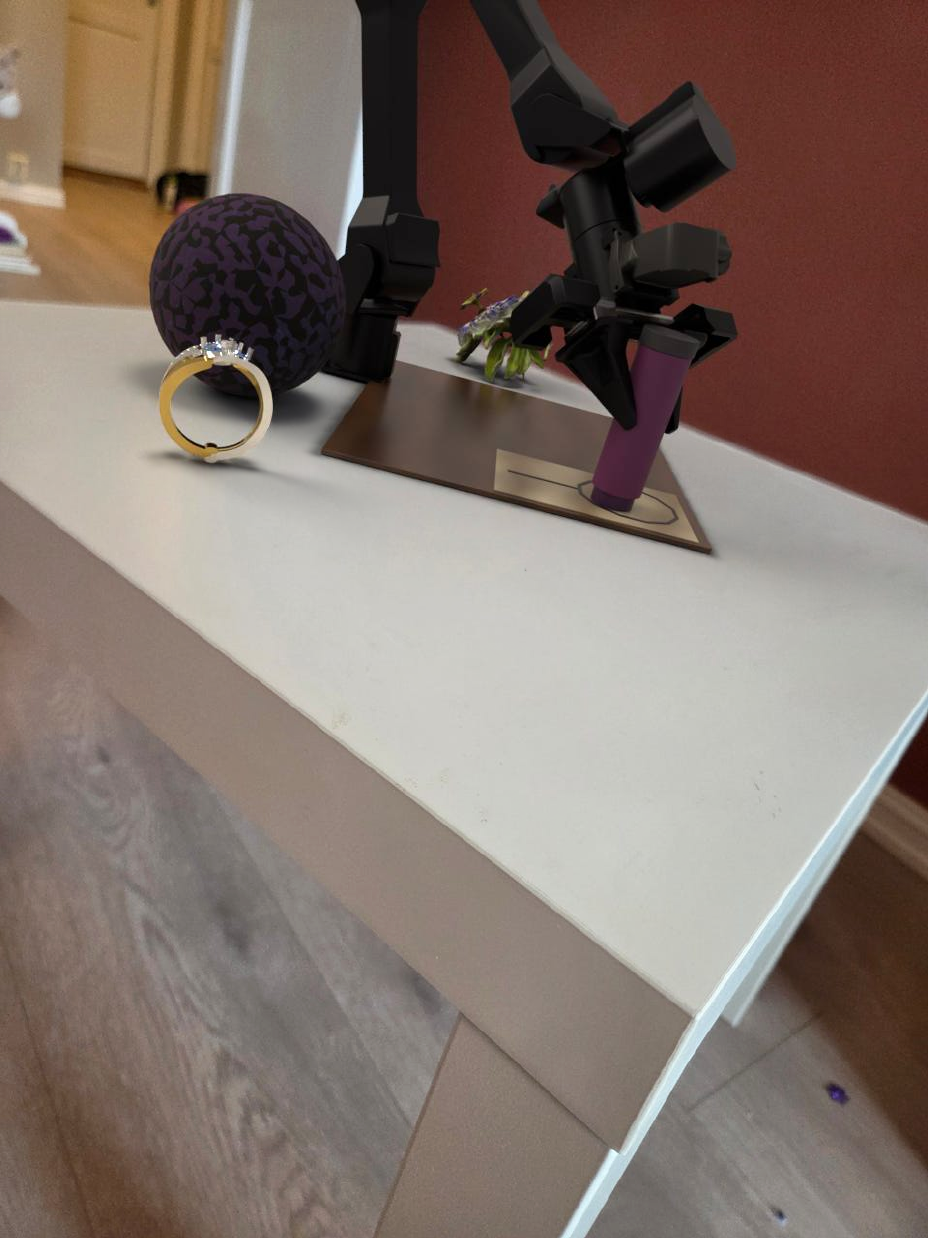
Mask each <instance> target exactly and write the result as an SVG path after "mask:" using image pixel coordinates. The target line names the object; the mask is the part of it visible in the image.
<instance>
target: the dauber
mask: <svg viewBox="0 0 928 1238" xmlns="http://www.w3.org/2000/svg"><path fill="white" fill-rule="evenodd" d="M639 342H640V343H639V346H638V347H637V348H636V352H635V354H634V357H633V360H632V363H631V366H630V368H629V372H630V377H631V382H632V388H633V393H634V398H635V404H636V413H637V425H636V426H635V427H634V428H632V429H631V430H624V429H623V428H622V427H621V426H620V425H619V423H618V422H617V421H616V420H615V419H614V418H613V417H612V418H613V421H612V424H611V426H610V429H609V432H608V435H607V438H606V441H605V444H604V447H603V450H602V452H601V455H600V458H599V461H598V464H597V467H596V470H595V473H594V476H593V478H592V483H593V485H594V487H593V490H592V493H591V499H592V500H593V501H594V502H596V503H597V504H599V505H601V506H603V507H606V508H608V509H611V510H615V511H620V512H628V511H631V509H632V507H633V504H634V502H635V499H638V498H640V497H641V494H642V491H643V489H644V486H645V483H646V481H647V478H648V475H649V473H650V470H651V467H652V465H653V462H654V460H655V457H656V454H657V452H658V449H660V446H661V443H662V440H663V438H664V435H665V430H666V428H667V425H668V422H669V420H670V417H671V414H672V412H673V409H674V406H675V404H676V401H677V398H678V396H679V393H680V391H681V388H682V385H683V386H684V384H683V383H685V380H686V377H687V374H688V372H689V370H688V369H689V367H690V364H691V361H692V359H694V357H695V355H696V352H697V349H698V347H699V344H700V341H698V340H697V339H695V338H693V337H691V336H689V335H686V334H683V333H681V332H678V331H675V330H672V329H668V328H665V327H661V326H656V325H651V324H645V325H644V327H643V330H642V333H641V336H640V339H639Z"/></svg>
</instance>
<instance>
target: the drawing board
mask: <svg viewBox="0 0 928 1238" xmlns="http://www.w3.org/2000/svg"><path fill="white" fill-rule="evenodd" d="M612 421H613V416H608V415H604V414H601V413H597V412H592V411H589V410H586V409H582V408H579V407H575V406H570V405H566V404H563V403H559V402H555V401H552V400H548V399H544V398H541V397H538V396H537V397H536V396H532V395H529V394H525V393H521V392H518V391H514V390H510V389H506V388H502V387H499V386H495V385H492V384H488V383H484V382H480V381H477V380H473V379H469V378H465V377H461V376H458V375H454V374H451V373H447V372H443V371H439V370H435V369H432V368H428V367H424V366H420V365H416V364H413V363H409V362H405V361H402V360H401V361H400V360H397V359H396V362H395V367H394V372H393V373H392V375H391V377H389V378H386V379H385V380H384V382H383V383H377V382H373V381H369V382H367V383H366V385H365V387H364V388H363V389H362V391H361V392H360V394H359V395H358V397H357V398H356V399H355V401H354V402H353V403H352V405H351V406H350V408H348V411H347V412H346V413H345V415H344V416H343V417H342V418H341V420H340V422H339V423H338V425H337V426H336V428H335V429H334V430H333V432H332V433H331V435H330V436H329V438H328V439H327V440H326V442H325V444H324V445H323V446H322V448H321V449H320V454H322V455H325V456H330V457H333V458H337V459H341V460H344V461H349V462H351V463H355V464H360V465H364V466H368V467H371V468H376V469H379V470H383V471H386V472H391V473H395V474H398V475H403V476H406V477H411V478H413V479H414V478H415V479H419V480H423V481H425V482H430V483H434V484H438V485H442V486H445V487H449V488H453V489H457V490H461V491H465V492H468V493H472V494H476V495H479V496H484V497H488V498H493V499H495V500H499V501H504V502H507V503H511V504H515V505H519V506H523V507H527V508H531V509H535V510H539V511H543V512H546V513H550V514H554V515H557V516H561V517H565V518H569V519H573V520H578V521H581V522H584V523H589V524H592V525H596V526H601V527H604V528H609V529H612V530H616V531H619V532H624V533H628V534H631V535H635V536H639V537H642V538H648V539H651V540H655V541H658V542H663V543H666V544H671V545H674V546H678V547H682V548H686V549H690V550H693V551H698V552H701V553H705V554H708V555H710V554H712V550H713V547H712V546H711V545H710V543H709V541H708V539H707V537H706V535H705V533H704V531H703V529H702V527H701V525H700V523H699V522H698V520H697V518H696V516H695V514H694V512H693V510H692V508H691V506H690V505H689V502H688V501H687V498H686V497H685V495H684V493H683V491H682V490H681V487H680V485H679V483H678V481H677V480H676V478H675V476H674V474H673V472H672V470H671V468H670V466H669V464H668V462H667V461H666V459H665V456H664V455H663V453H662V451H661V449H660V448H659V449H658V452H657V454H656V457H655V460H654V462H653V465H652V467H651V470H650V473H649V475H648V478H647V481H646V483H645V486H644V489H643V491H642V494H641V497H640V498H638V499H635V502H634V504H633V507H632V509H631V511H628V512H620V511H615V510H611V509H608V508H606V507H603V506H601V505H599V504H597V503H596V502H594V501H593V500H592V499H591V493H592V490H593V487H594V485H593V483H592V478H593V476H594V473H595V470H596V467H597V464H598V461H599V458H600V455H601V452H602V450H603V447H604V444H605V441H606V438H607V435H608V432H609V429H610V426H611V424H612Z"/></svg>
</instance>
